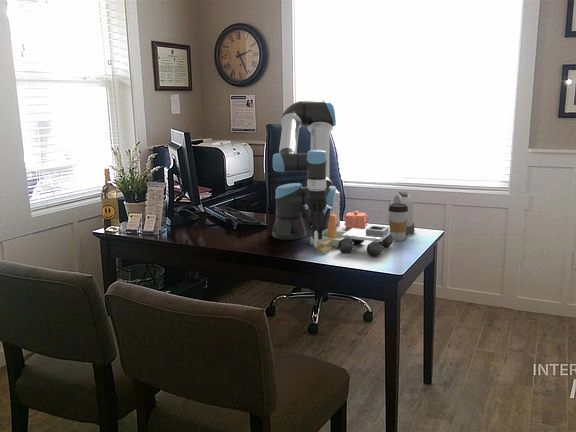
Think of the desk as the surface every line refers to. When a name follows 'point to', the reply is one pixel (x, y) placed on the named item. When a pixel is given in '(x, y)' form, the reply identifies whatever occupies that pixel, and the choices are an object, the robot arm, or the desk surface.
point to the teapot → (355, 220)
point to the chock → (323, 246)
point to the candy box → (336, 208)
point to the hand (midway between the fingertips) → (317, 246)
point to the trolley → (373, 233)
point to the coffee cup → (398, 221)
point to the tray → (333, 241)
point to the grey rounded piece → (406, 199)
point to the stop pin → (332, 226)
